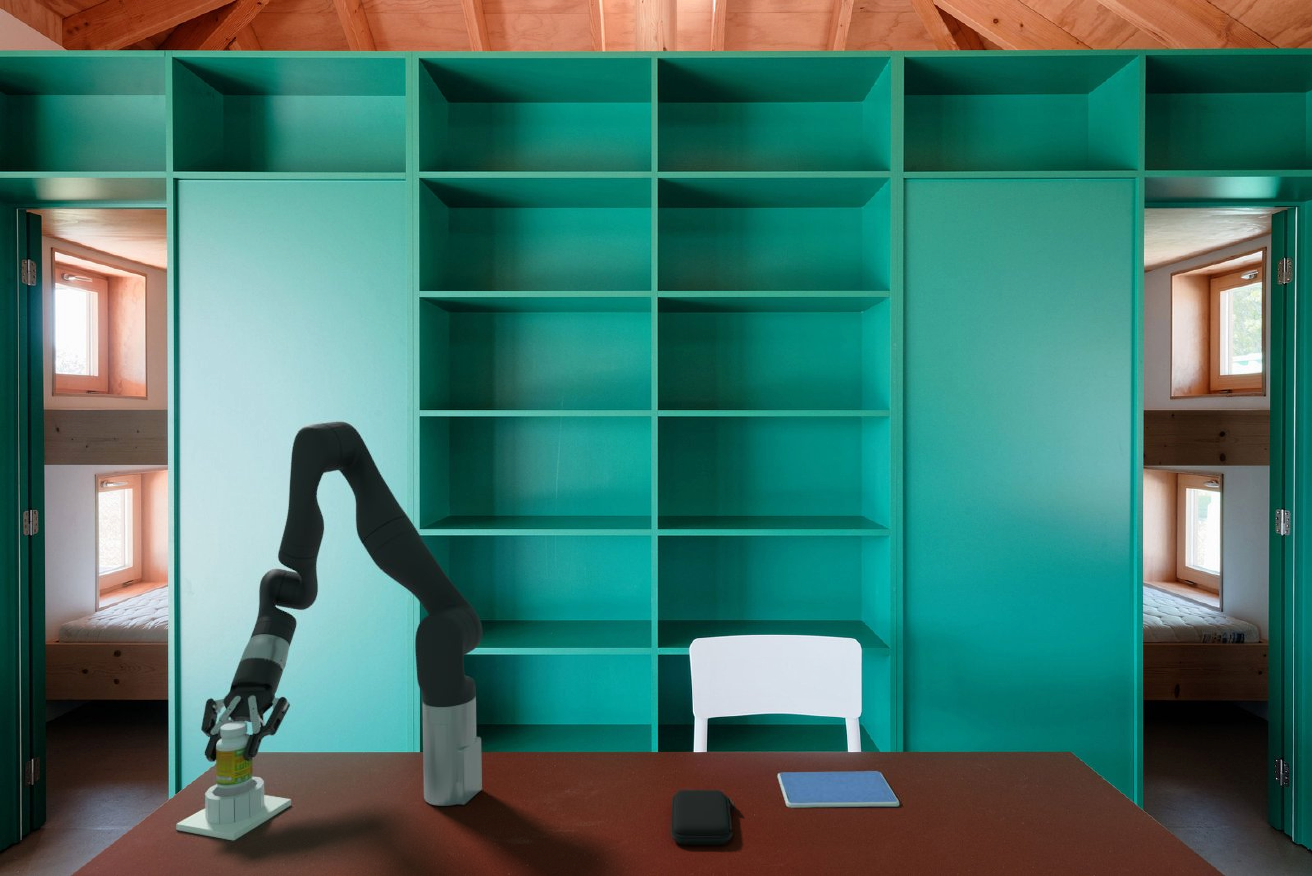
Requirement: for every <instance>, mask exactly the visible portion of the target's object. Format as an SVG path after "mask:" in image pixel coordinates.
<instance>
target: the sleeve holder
mask: <svg viewBox="0 0 1312 876" xmlns="http://www.w3.org/2000/svg"><path fill="white" fill-rule="evenodd" d="M204 801H205V802H204V808H203V809H201V810H199V811H197V812H196V813H194V814H192V815H190V816H188V817H186V818H184V819H182V820H180V821H179V822H177V823H176V826H175V827H176V828H175V829H176V831H180V832H186V833H191V834H196V835H201V836H206V837H207V836H208V837H212V838H213V837H214V838H219V839H223V840H230V841H233V842H234V841H236V840H238V838H240V837H242V836H244V835H245V834H247V833H248V832H251V831H252V830H253V829H255V828H257V827H259V826H260V825H262V824H263V823H265V822H266V821H268V820H269V819H271V818H273V817H274V816H276V815H278V814H279V813H280V812H282V811H284V810H285V809H287V808H289V807H290V806H291V805H292V799H291V798H286V797H285V798H284V797H279V796H273V795H267V794H265V781H264V780H263V779H262V778H261V777H260V776H253V777H252V779H251V781H250V782H248V783H247V784H245V785H243V786H240V787H236V788H229V789H223V788H219V787H218V786H217V783H216V784H214V785H212V786H210V787H209V788H208V789H207V791H206V792H205V793H204Z"/></svg>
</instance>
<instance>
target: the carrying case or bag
mask: <svg viewBox="0 0 1312 876" xmlns="http://www.w3.org/2000/svg"><path fill="white" fill-rule="evenodd" d="M730 807H731V808H730ZM731 810H732V811H736V804H735V803H734V801H733V800H732V798H730V797H728V796H727V795H725V794H724V792H723V791H722V790H718V789H681V790H678V791H677V792H676V793H675V794H674V795H673V797H672V799H671V822H670V824H671V825H670V836H671V838H672V840H674V841H675V843H677V844H678V845H682V846H723V845H726V844H727V843H728V842H729V841H730V840H731V838H733V828H732V817H731Z"/></svg>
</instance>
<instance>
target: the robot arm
mask: <svg viewBox="0 0 1312 876" xmlns="http://www.w3.org/2000/svg"><path fill="white" fill-rule="evenodd" d="M290 458H291V461H290V472H289V474H290V477H289V492H288V493H289V494H288V495H289V496H288V509H287V517H286V521H285V525H284V529H283V533H282V537H281V541H280V545H279V550H278V554H277V558H278V561H279V563H280V564H282V566H284V567H286V568H288V569H290V570H287V569H281V568H274V569H270V570H268V571H267V572H266V573H265V574H264V575H263V576H262V578H261V580H260V582H259V583H260V584H259V590H258V591H259V592H258V593H259V594H258V595H259V596H258V597H259V598H258V599H259V600H258V612H257V617H256V618H257V619H256V622H255V625H254V627H253V629H252V630H253V631H252V633H251V635H250V638H249V640H248V643H247V644H246V646H245V648H244V650H243V653H242V655H241V658H240V661H239V662H238V665H237V668H236V670H235V673H234V676H233V678H232V682H231V684H230V690H229V692H228V693H227V694H226V696H224V698H221V699H217V700H215V699H213V698H211V697H210V698H208V699H207V700H206V702H205V706H204V713H203V716H202V717H203V718H202V723H201V731H202V732H203V733H204V734H205V736H207V737H208V738H209V740H208V742H207V745H206V747H205V750H204V756H205V758H206V760H207V761H208V762H211V763H212V762H215V763H216V744H217V742H218V741H219V740H220V739H221V738H222V737H221V735H220V729H221V726H223V725H224V724H227V723H230V722H235V721H244V722H247V723H251V729H252V734H249V735H250V736H249V739H248V742H247V745H246V748H245V751H244V754H243V758H244V759H245V760H246V761H251V760H252V761H253V758H255V757H257V755H258V753H259V749H260V747H261V743H262V740H263V739H264V738H265V737H267V736H275V735H276V733H277V732H278V729H280V726H281V724H282V722H283V720H284V717H285V716H286V715H287V712H288V710H289V708H290V707H291V704H290V702H289V701H288V699H287V698H286V697H285V696H281V697H276V695H275V694H276V693H277V692H278V691H277V690H278V688H279V685H280V682H281V680H282V679H281V678H282V676H283V672H284V670H285V667H286V665H287V660H288V657H289V651H290V646H291V644H292V641H293V638H294V634H295V631H296V629H297V624H298V623H297V619H296V618H295V616H293V615H292V614H291V613H289V612H287V611H285V610H283V609H281V608H279V607H282V608H285V609H286V608H287V609H293V610H298V611H304V610H307V609H309V608H310V607H311V606H313V604H314V603H315V601H316V600H317V596H318V594H319V593H318V591H319V583H318V575H317V563H318V556H319V552H320V548H321V546H322V545H321V544H322V541H323V537H324V533H325V521H324V516H323V514H322V510H321V508H320V505H319V501H318V488H319V486H320V483H321V480H322V477H323V475H324V474H325V473H331V472H336V471H339V472H340V473H341V474H342V476H343V477H344V478H345V480H346V481H347V483H348V485H349V487H350V488H351V490H352V492H353V496H354V500H355V527H356V533H357V536H358V539H359V540H360V542H361V544H362V545H363V547H364V548H365V550H366V552H367V553H368V555H369V556H370V558H371V560H372V562H374V564H375V565H376V566H377V568H379V569H380V571H382V572H383V573H384V574H386V575H387V576H388V577H390V579H392V580H393V581H395V582H396V583H398V584H399V585H401V587H402V586H403V587H404V588H405V589H406V590H408V591H409V592H410V593H411V594H412V595H413V596H414V597H415V598H416V599H417V600H418V601H419V603H420V604H421V606H422V607H423V609H424V610H425V612H426V614H428V615H426V616H425V617H424V618H422V619H421V621H420V622H419V624H418V625H417V629H416V632H415V639H414V640H415V642H414V643H415V644H414V646H415V647H414V648H415V649H414V650H415V664H416V666H415V667H416V668H415V669H416V678H417V685H418V687H419V690H420V692H421V695H422V696H421V698H422V699H421V700H422V752H423V753H422V758H423V761H422V762H423V765H422V766H423V770H422V771H423V798H424V801H425V802H426V803H428V804H430V805H433V806H439V807H440V806H441V807H446V806H447V807H449V806H454V805H465V804H467V803H468V802H469V801H470V800H471V799H473V798H474V796H476V795H477V794H478V793H479V792H481V790H482V789H483V784H482V783H483V782H482V781H483V777H482V775H483V774H482V772H483V771H482V738H481V736H477V699H476V698H477V697H476V695H477V691H476V681H475V680H474V679H473V677H470V676H468V675H466V674H465V663H464V656H466V655H468V654H469V653H470V652H472V651H474V650H475V649H476V648H478V646H479V645H480V643H481V641H482V638H483V626H482V622H481V619H480V617H479V615H478V614H477V612H476V611H475V609H474V608H473V606H472V605H471V604H470V603H469V602H468V600H467V599H466V598H465V597H464V595H463V594H462V593H461V592H460V591H459V589H458V588H457V587H456V586H455V584H454V583H453V582H452V581H451V579H450V578H449V577H448V575H447V574H446V573H445V572H444V570H443V569H442V567H441V565H440V564H439V562H438V561H437V559H436V558H435V557H434V555H433V553H432V552H431V550H430V549H429V548H428V546H427V545H426V543H425V542H424V540H423V538H422V536H421V535H420V532H419V531H418V530H417V528H416V527H415V525H414V523H413V522H412V521H411V519H410V518H409V516H408V514H407V513H406V512H405V510H404V509H403V507H402V506H401V505H400V504H399V502H398V500H397V498H396V496H395V495H394V494H393V493H392V490H391V489H390V487H389V486H388V484H387V483H386V480H385V479H384V478H383V476H382V474H381V472H380V470H379V468H378V466H377V464H376V463H375V461H374V458H373V456H372V454H371V453H370V451H369V449H368V446H367V444H366V442H365V441H364V440H363V438H362V436H361V434H360V433H359V431H358V430H357V429H356V428H355V427H354V426H353V425H352V424H350V423H349V422H346V421H331V422H321V423H313V424H308V425H306V426H304V427H301V429H299V430H298V432H296V435H295V437H294V439H293V443H292V451H291V457H290ZM291 570H293V571H291ZM224 707H225V710H224V712H223V713H222V714H221V711H222V709H223V708H224ZM271 708H272V709H273V710H272V711H271V713H270V715H269V717H268V719H267V721H266V723H265V716H264V714H265V713H267V712H268V710H270V709H271ZM219 714H221V715H220V716H219V718H218V715H219ZM217 720H218V721H217Z"/></svg>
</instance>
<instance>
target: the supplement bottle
mask: <svg viewBox="0 0 1312 876" xmlns="http://www.w3.org/2000/svg"><path fill="white" fill-rule="evenodd" d="M220 735H221V737H222V738H221V739H220V740H219V741H218V742H217V744H216V761H215V767H216V768H215V770H216V773H215V775H216V779H215V780H216V784H217V786H218V787H219V788H223V789H229V788H236V787H240V786H243V785H245V784H247V783H248V782H250V781H251V779H252V777H253V775H254V772H253V767H254V766H253V765H254V763H253V759H252V760H251V761H246V760H245V759H244V758H243V754H244V751H245V748H246V745H247V742H248V739H249V736H250V735H251V734H249V733H248V722H247V721H235V722H230V723H227V724H224V725H223V726H221V729H220Z"/></svg>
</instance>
